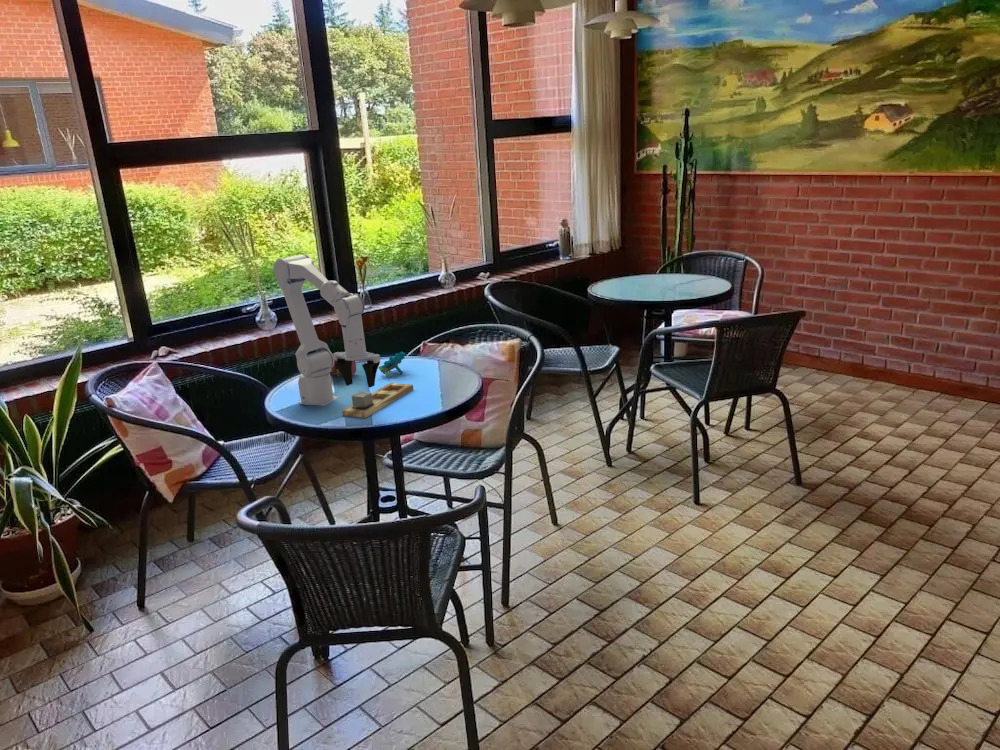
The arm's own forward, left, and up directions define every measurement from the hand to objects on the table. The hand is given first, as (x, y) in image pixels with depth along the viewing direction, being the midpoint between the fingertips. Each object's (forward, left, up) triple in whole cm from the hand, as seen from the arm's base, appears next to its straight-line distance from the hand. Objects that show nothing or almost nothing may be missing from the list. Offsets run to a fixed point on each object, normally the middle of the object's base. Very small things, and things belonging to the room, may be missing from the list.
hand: (360, 385), depth 210 cm
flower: (-30, +28, -8) cm, 42 cm away
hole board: (0, +8, -8) cm, 11 cm away
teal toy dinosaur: (-13, +35, -8) cm, 38 cm away
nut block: (0, 0, -8) cm, 8 cm away
